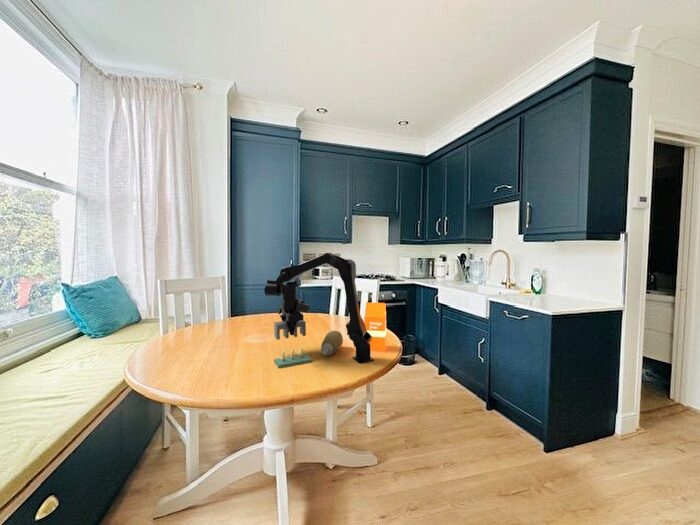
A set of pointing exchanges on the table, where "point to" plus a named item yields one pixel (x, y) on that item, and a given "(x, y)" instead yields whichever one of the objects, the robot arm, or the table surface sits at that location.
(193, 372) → the table surface
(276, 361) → the strip
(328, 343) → the squeeze bottle
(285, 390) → the table surface
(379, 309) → the orange juice
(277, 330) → the block
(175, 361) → the table surface
